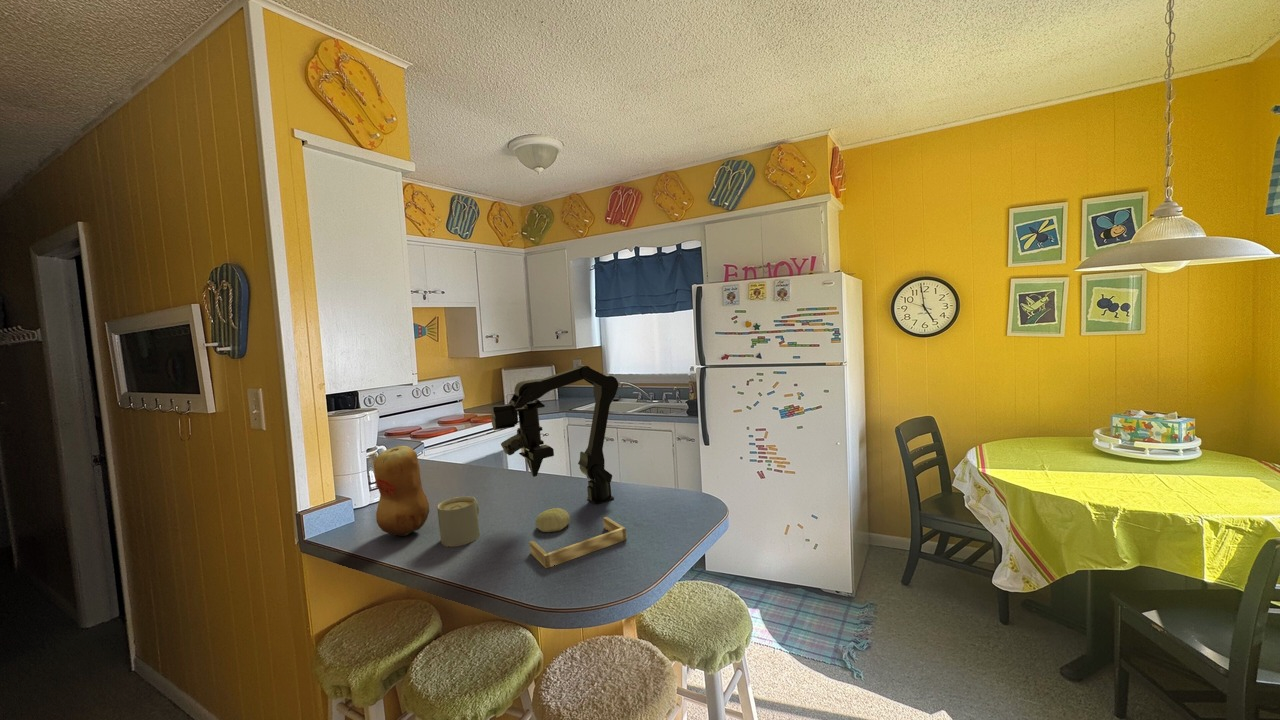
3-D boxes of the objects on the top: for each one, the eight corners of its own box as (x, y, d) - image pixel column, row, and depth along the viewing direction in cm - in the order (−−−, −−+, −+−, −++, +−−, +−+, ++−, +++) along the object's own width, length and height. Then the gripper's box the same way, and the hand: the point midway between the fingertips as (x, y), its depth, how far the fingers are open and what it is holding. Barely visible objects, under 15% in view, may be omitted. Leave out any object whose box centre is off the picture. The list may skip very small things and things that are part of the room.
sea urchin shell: (529, 519, 143) (547, 495, 144) (550, 533, 145) (568, 510, 147) (536, 531, 134) (555, 505, 136) (558, 546, 137) (577, 521, 139)
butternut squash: (368, 542, 140) (356, 454, 138) (404, 522, 153) (394, 441, 150) (408, 545, 136) (397, 455, 133) (442, 524, 148) (432, 441, 146)
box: (607, 527, 137) (606, 516, 137) (626, 539, 129) (625, 528, 129) (530, 553, 126) (529, 541, 125) (546, 568, 117) (545, 556, 117)
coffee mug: (459, 549, 131) (455, 512, 130) (433, 543, 136) (428, 507, 135) (496, 528, 143) (492, 493, 142) (470, 523, 148) (466, 490, 147)
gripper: (492, 424, 151) (497, 475, 152) (513, 434, 135) (519, 491, 137) (528, 418, 157) (532, 467, 158) (552, 427, 141) (557, 481, 143)
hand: (534, 476), depth 149 cm, fingers closed
